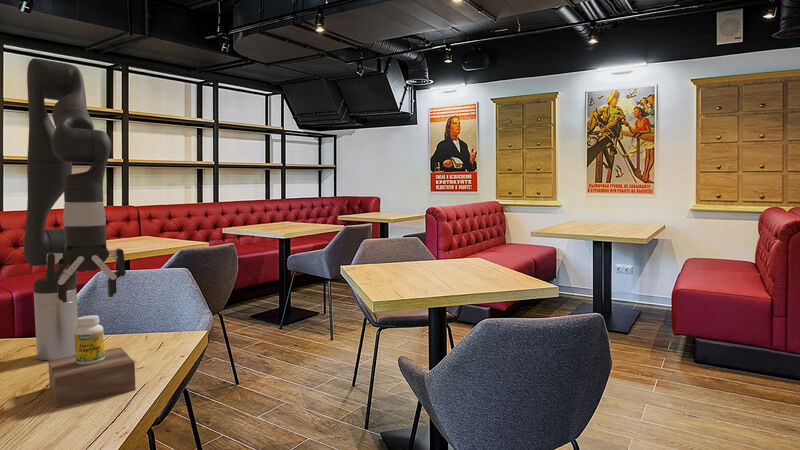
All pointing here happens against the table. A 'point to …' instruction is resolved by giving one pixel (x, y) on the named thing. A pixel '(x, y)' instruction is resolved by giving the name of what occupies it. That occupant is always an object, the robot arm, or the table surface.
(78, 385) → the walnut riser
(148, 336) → the table surface
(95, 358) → the supplement bottle
